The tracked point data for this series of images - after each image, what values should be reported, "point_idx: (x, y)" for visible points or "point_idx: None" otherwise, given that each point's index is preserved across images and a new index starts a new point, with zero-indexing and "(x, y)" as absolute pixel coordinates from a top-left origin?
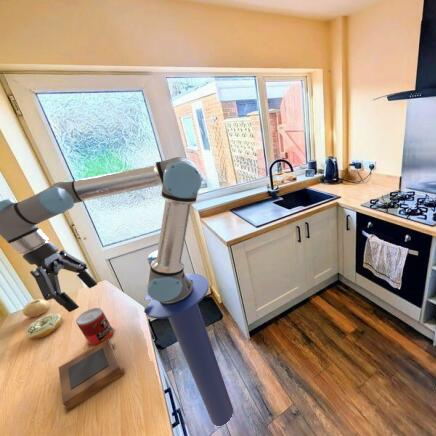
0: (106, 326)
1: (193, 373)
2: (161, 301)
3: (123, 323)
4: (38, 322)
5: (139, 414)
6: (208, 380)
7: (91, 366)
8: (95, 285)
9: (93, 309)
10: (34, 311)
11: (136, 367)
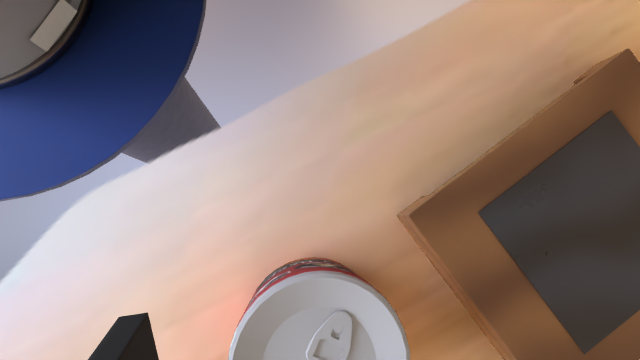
0: (324, 262)
1: (192, 140)
2: (62, 39)
3: (224, 229)
4: None
5: None
6: (204, 106)
7: (601, 210)
8: (151, 329)
9: None
10: None
11: (572, 11)
